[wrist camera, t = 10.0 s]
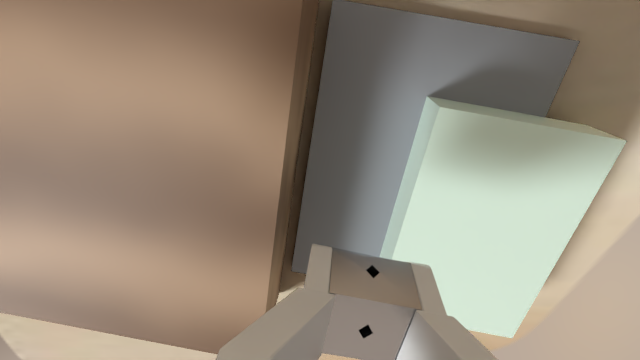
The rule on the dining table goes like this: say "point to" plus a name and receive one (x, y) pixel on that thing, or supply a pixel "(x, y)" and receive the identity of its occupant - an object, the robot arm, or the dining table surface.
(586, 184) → the mint green block
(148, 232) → the board
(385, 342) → the robot arm
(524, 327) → the dining table surface
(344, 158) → the mat
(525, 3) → the dining table surface
